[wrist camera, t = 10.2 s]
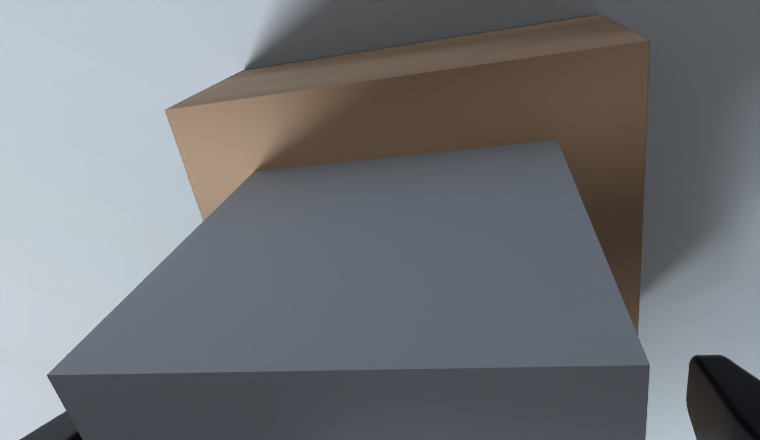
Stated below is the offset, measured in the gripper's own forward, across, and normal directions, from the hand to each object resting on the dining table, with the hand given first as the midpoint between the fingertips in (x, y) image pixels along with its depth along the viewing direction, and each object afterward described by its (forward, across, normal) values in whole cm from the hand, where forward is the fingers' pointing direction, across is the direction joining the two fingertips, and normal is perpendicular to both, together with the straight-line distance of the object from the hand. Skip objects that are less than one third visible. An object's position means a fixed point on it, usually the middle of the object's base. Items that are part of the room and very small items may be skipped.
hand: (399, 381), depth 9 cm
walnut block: (+7, 0, 0) cm, 7 cm away
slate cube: (+3, 0, 0) cm, 3 cm away
